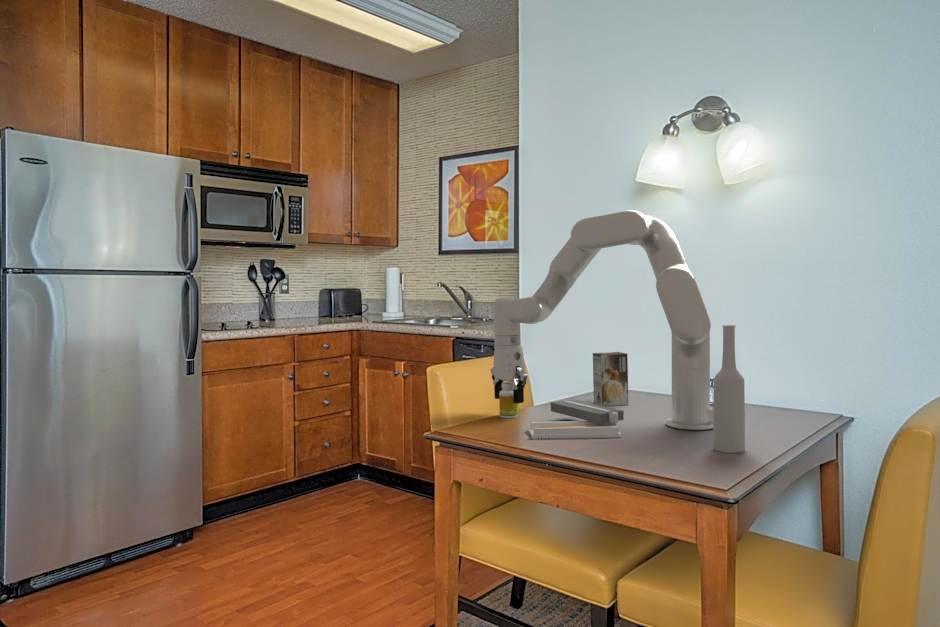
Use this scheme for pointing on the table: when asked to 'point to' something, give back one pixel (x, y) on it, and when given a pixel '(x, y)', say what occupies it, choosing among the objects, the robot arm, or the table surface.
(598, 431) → the duct base
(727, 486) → the table surface
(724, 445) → the bottle
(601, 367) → the coffee box
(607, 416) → the block
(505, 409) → the supplement bottle
